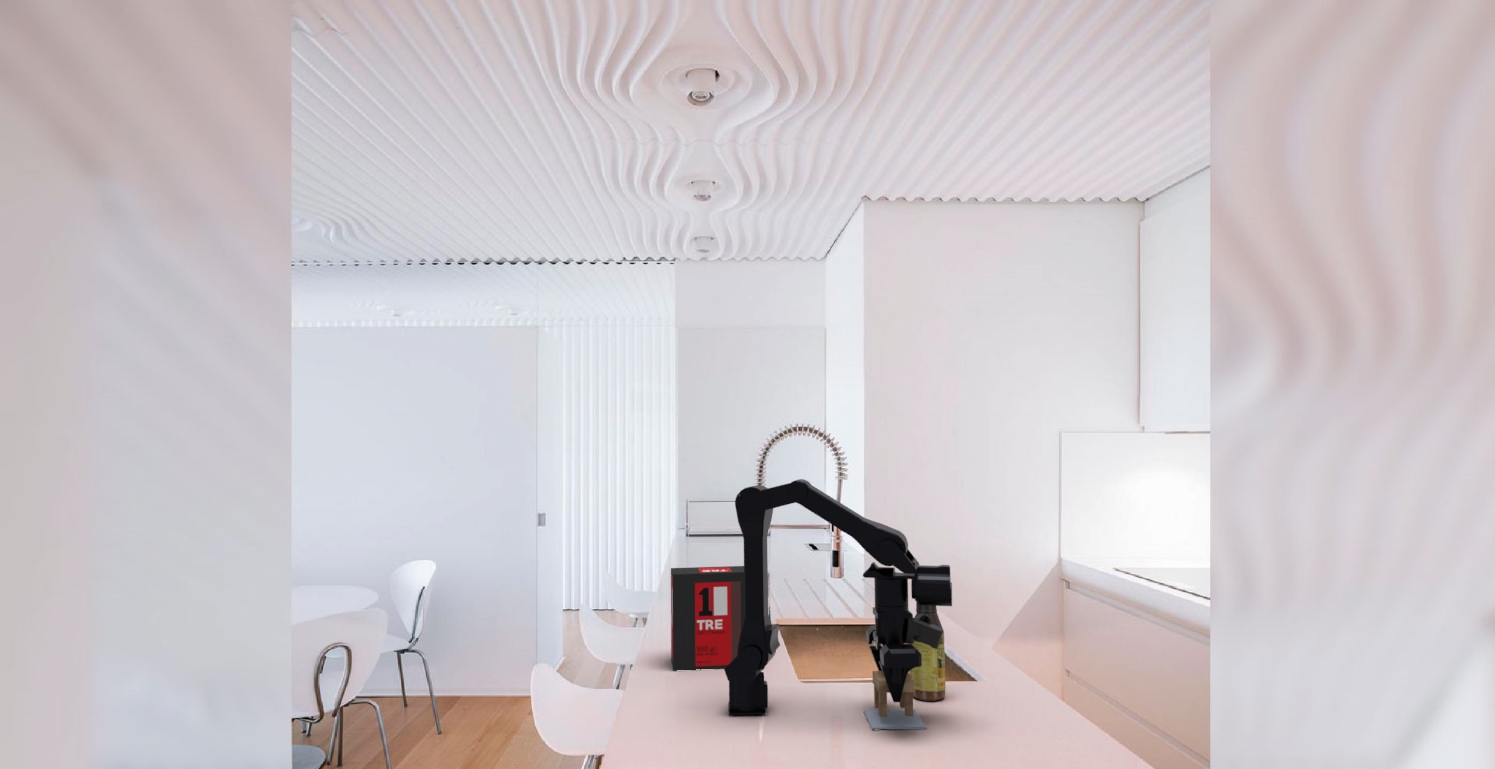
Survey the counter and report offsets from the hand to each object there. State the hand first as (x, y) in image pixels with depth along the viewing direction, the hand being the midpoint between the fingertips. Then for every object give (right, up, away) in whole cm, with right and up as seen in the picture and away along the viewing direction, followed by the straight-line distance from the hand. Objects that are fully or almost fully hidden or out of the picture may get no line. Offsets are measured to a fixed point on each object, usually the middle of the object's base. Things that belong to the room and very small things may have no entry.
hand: (893, 696), depth 148 cm
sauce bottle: (+9, -5, +13) cm, 16 cm away
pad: (0, -4, 0) cm, 4 cm away
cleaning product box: (-33, -7, +38) cm, 51 cm away
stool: (0, -3, 0) cm, 2 cm away
